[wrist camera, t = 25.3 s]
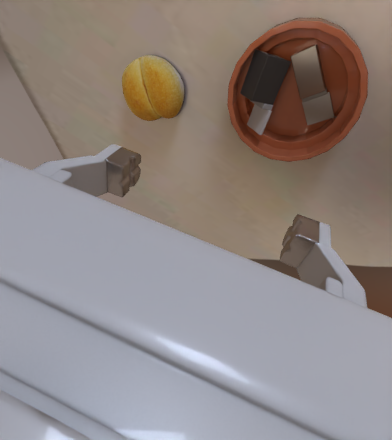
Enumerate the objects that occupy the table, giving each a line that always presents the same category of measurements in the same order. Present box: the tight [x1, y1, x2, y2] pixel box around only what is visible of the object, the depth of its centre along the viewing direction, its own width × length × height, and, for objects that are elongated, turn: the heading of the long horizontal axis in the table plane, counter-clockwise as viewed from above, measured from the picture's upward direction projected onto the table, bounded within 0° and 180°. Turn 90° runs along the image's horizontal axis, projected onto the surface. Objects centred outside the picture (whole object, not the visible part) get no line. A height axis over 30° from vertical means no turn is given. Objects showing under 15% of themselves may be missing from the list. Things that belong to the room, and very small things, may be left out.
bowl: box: [228, 18, 368, 161], centre depth 32 cm, size 14×14×5 cm
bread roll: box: [122, 55, 184, 121], centre depth 38 cm, size 8×9×4 cm
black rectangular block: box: [240, 49, 291, 135], centre depth 31 cm, size 8×3×3 cm
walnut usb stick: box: [290, 45, 334, 125], centre depth 31 cm, size 8×3×3 cm, turn 26°
